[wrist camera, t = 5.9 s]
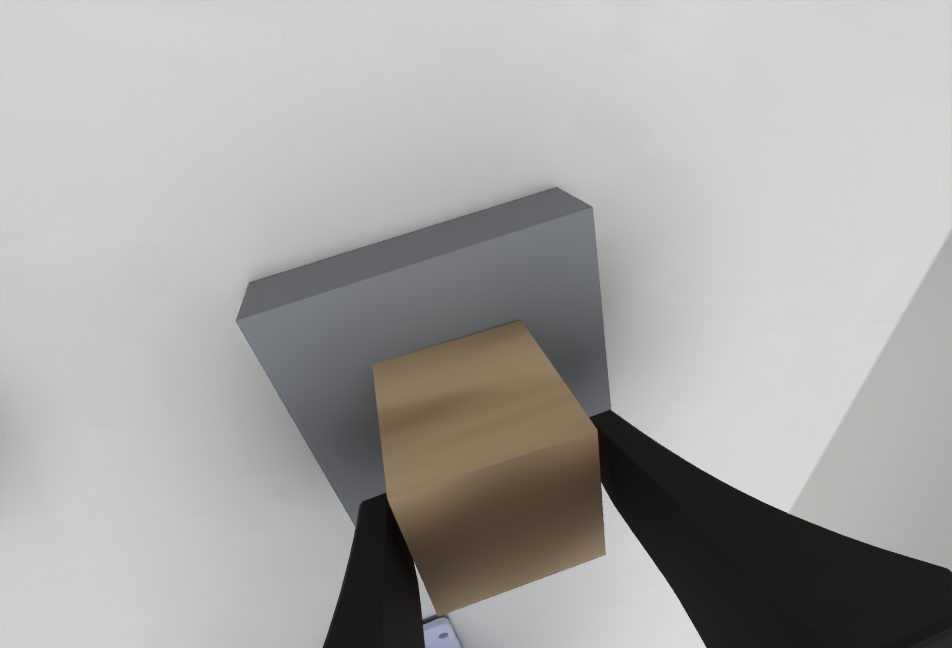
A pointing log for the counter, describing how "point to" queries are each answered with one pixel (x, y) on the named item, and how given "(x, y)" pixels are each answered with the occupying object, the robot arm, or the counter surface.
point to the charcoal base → (425, 319)
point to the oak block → (488, 465)
